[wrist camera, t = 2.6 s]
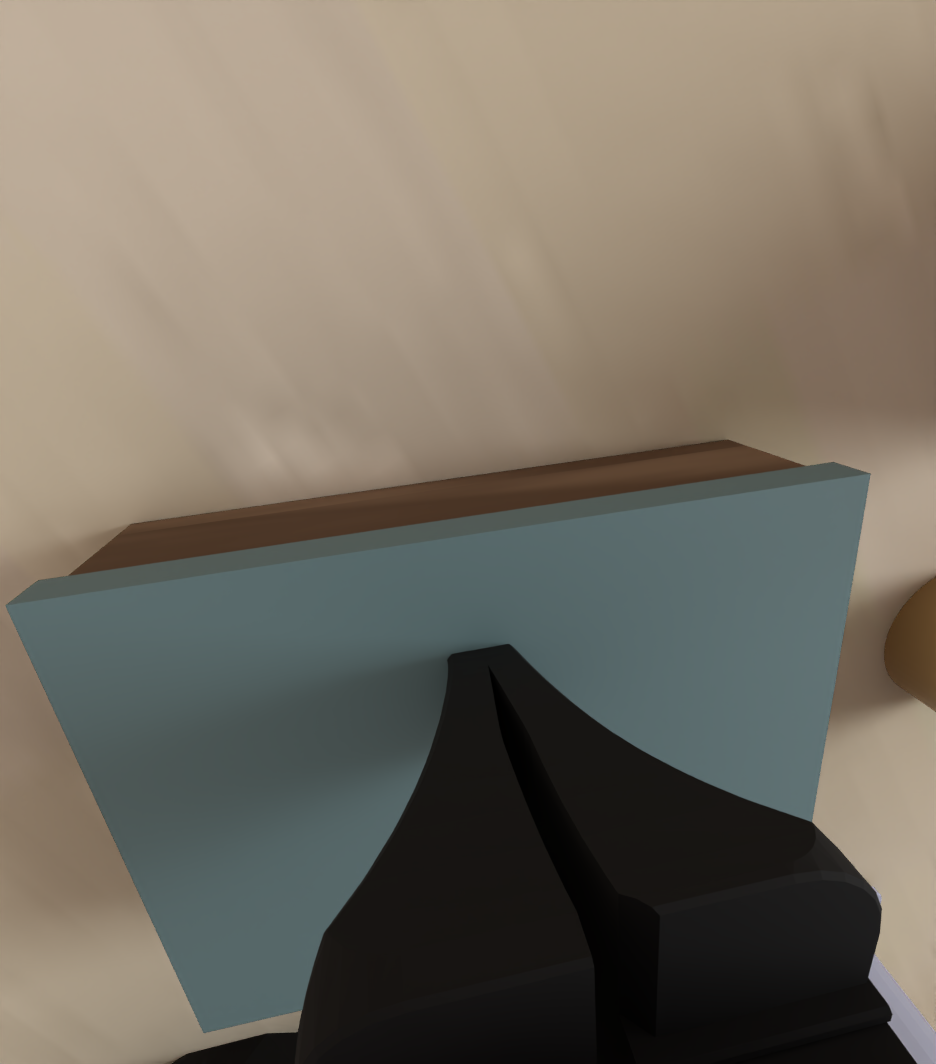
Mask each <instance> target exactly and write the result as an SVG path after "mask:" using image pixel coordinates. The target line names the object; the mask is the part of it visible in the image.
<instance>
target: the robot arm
mask: <svg viewBox="0 0 936 1064" xmlns="http://www.w3.org/2000/svg"><path fill="white" fill-rule="evenodd" d="M447 662H448V679H447V687H446V693H445V698H444V703H443V707H442V712H441V716H440V720H439V724H438V727H437V730H436V733H435V736H434V739H433V743H432V746H431V749H430V752H429V755H428V757H427V760H426V763H425V765H424V768H423V770H422V773H421V775H420V777H419V780H418V782H417V784H416V787H415V789H414V791H413V793H412V795H411V797H410V799H409V801H408V803H407V805H406V807H405V809H404V811H403V813H402V815H401V817H400V819H399V821H398V823H397V825H396V827H395V828H394V830H393V832H392V834H391V835H390V837H389V839H388V840H387V842H386V844H385V845H384V847H383V848H382V850H381V852H380V853H379V855H378V857H377V858H376V860H375V861H374V863H373V865H372V866H371V868H370V870H369V871H368V873H367V874H366V876H365V877H364V879H363V880H362V882H361V883H360V885H359V886H358V887H357V889H356V890H355V891H354V893H353V894H352V895H351V897H350V898H349V899H348V901H347V902H346V904H345V905H344V906H343V908H342V909H341V910H340V912H339V913H338V914H337V916H336V917H335V918H334V920H333V921H332V923H331V924H330V925H329V927H328V928H327V929H326V930H325V932H324V934H323V937H322V940H321V943H320V946H319V949H318V952H317V955H316V959H315V962H314V965H313V968H312V972H311V976H310V979H309V983H308V987H307V991H306V995H305V1000H304V1004H303V1009H302V1013H301V1019H300V1024H299V1029H298V1037H297V1046H296V1055H295V1064H936V1032H935V1031H934V1029H933V1028H932V1027H931V1025H930V1024H929V1023H928V1022H927V1020H926V1019H925V1018H924V1017H923V1015H922V1014H921V1013H920V1011H919V1010H918V1009H917V1008H916V1006H915V1005H914V1004H913V1003H912V1001H911V1000H910V999H909V997H908V996H907V995H906V994H905V992H904V991H903V990H902V989H901V987H900V986H899V985H898V983H897V982H896V981H895V980H894V978H893V977H892V976H891V974H890V973H889V972H888V971H887V969H886V968H885V967H884V966H883V964H882V963H881V962H880V960H879V959H878V958H877V957H876V955H875V954H874V953H875V949H876V945H877V942H878V938H879V934H880V924H881V911H882V908H881V905H880V904H881V895H880V894H879V893H878V891H877V890H876V889H875V888H874V887H872V886H870V885H869V883H868V882H867V881H866V880H865V879H864V878H863V877H862V875H861V874H860V873H859V872H858V871H857V870H856V869H855V867H854V866H853V865H852V864H851V862H850V861H849V860H848V859H847V858H846V857H845V856H844V855H843V853H842V852H841V851H840V850H839V849H838V848H837V847H836V846H835V845H834V844H833V843H832V842H831V841H830V840H829V839H828V838H827V837H826V836H825V835H824V834H823V833H822V832H821V831H820V830H819V829H818V828H817V827H816V826H815V825H814V824H813V823H812V822H811V821H808V820H805V819H802V818H799V817H796V816H793V815H790V814H787V813H784V812H782V811H779V810H776V809H773V808H770V807H767V806H764V805H761V804H758V803H755V802H753V801H750V800H747V799H744V798H742V797H739V796H737V795H734V794H732V793H730V792H727V791H725V790H722V789H720V788H718V787H715V786H713V785H711V784H708V783H706V782H704V781H701V780H699V779H697V778H695V777H693V776H691V775H688V774H686V773H684V772H682V771H680V770H678V769H676V768H674V767H672V766H670V765H669V764H667V763H665V762H663V761H661V760H659V759H657V758H655V757H653V756H651V755H649V754H648V753H646V752H644V751H642V750H641V749H639V748H637V747H635V746H634V745H632V744H631V743H629V742H627V741H626V740H624V739H623V738H621V737H619V736H618V735H616V734H615V733H613V732H612V731H610V730H609V729H607V728H606V727H604V726H603V725H602V724H600V723H599V722H597V721H596V720H595V719H593V718H592V717H591V716H589V715H588V714H587V713H586V712H584V711H583V710H582V709H580V708H579V707H578V706H577V705H575V704H574V703H573V702H572V701H570V700H569V699H568V698H567V697H566V696H565V695H563V694H562V693H561V692H560V691H559V690H558V689H556V688H555V687H554V686H553V685H552V684H551V683H550V682H548V681H547V680H546V679H545V678H544V677H543V676H542V675H541V674H540V673H539V672H538V671H537V670H536V669H535V668H534V667H533V666H532V665H531V664H530V663H529V662H528V661H527V660H526V659H525V658H524V657H523V656H522V655H521V654H520V653H519V652H518V651H517V650H516V649H515V648H514V647H513V646H512V645H510V644H505V645H499V646H494V647H488V648H482V649H477V650H471V651H465V652H459V653H454V654H451V655H450V657H449V658H448V659H447Z"/></svg>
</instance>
